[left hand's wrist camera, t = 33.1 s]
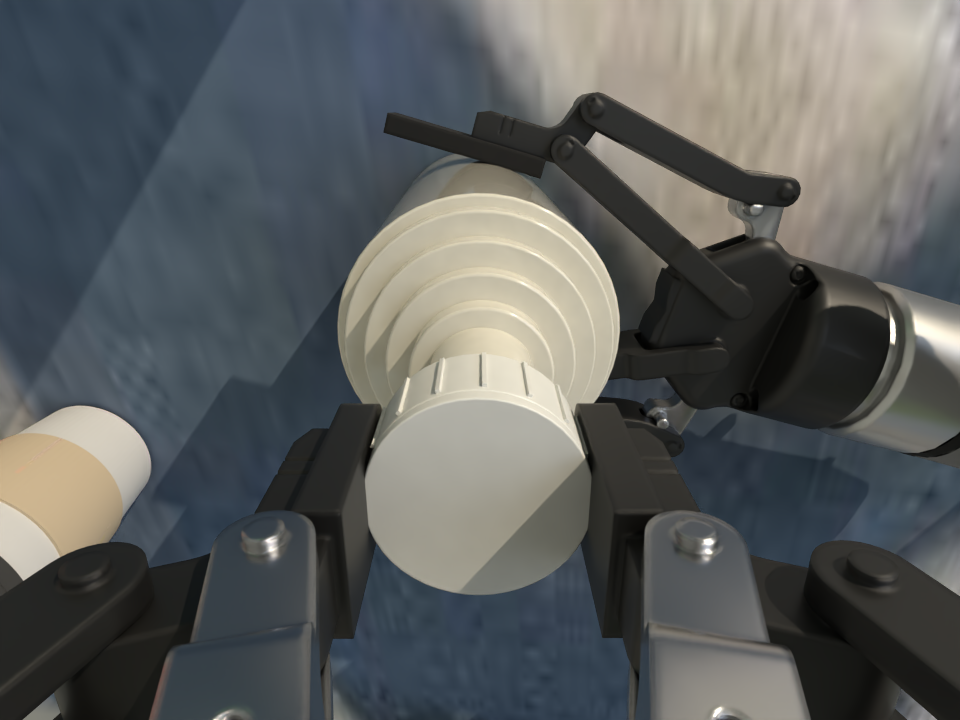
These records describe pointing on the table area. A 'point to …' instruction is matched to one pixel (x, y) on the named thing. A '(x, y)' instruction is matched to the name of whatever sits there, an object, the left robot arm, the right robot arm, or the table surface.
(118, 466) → the coffee cup
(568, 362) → the bottle
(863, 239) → the table surface
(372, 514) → the cap
